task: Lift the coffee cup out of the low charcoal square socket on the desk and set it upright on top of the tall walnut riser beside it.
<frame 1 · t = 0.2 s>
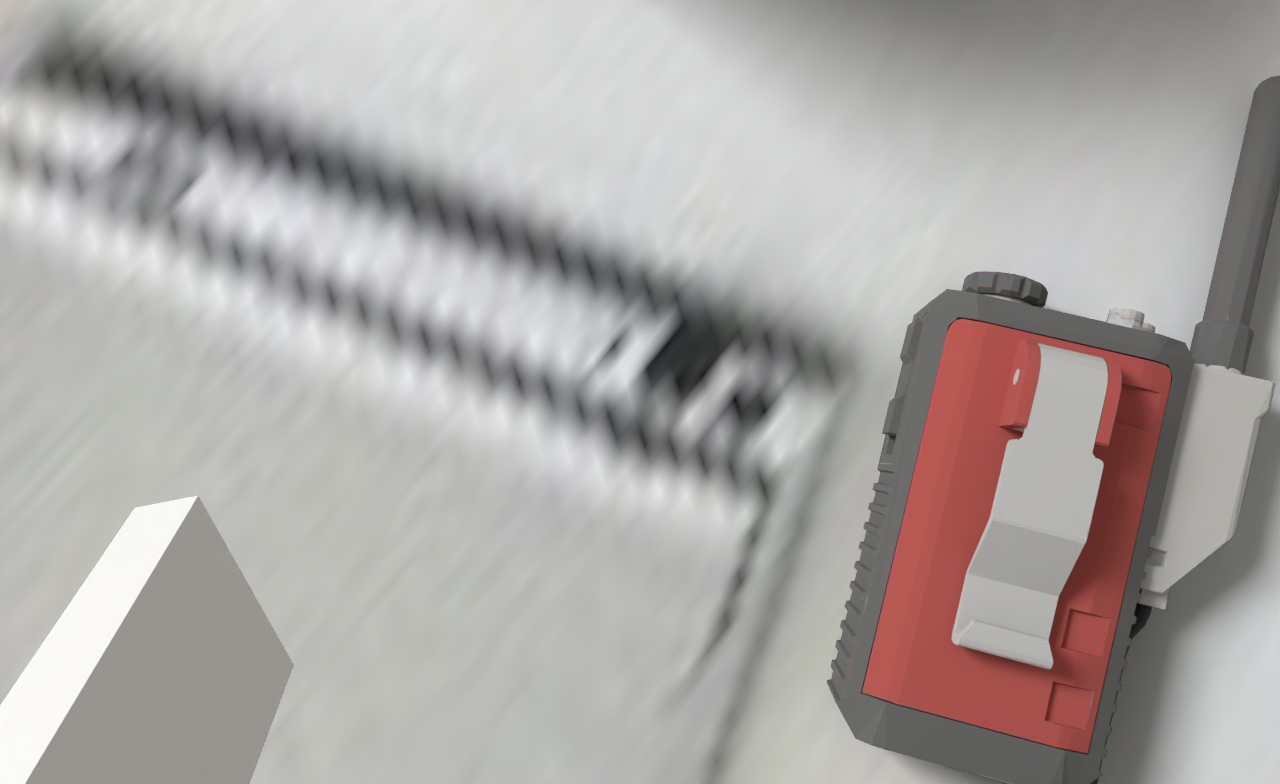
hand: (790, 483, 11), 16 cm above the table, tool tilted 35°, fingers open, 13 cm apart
walkie-talkie: (1045, 424, 27), on the table
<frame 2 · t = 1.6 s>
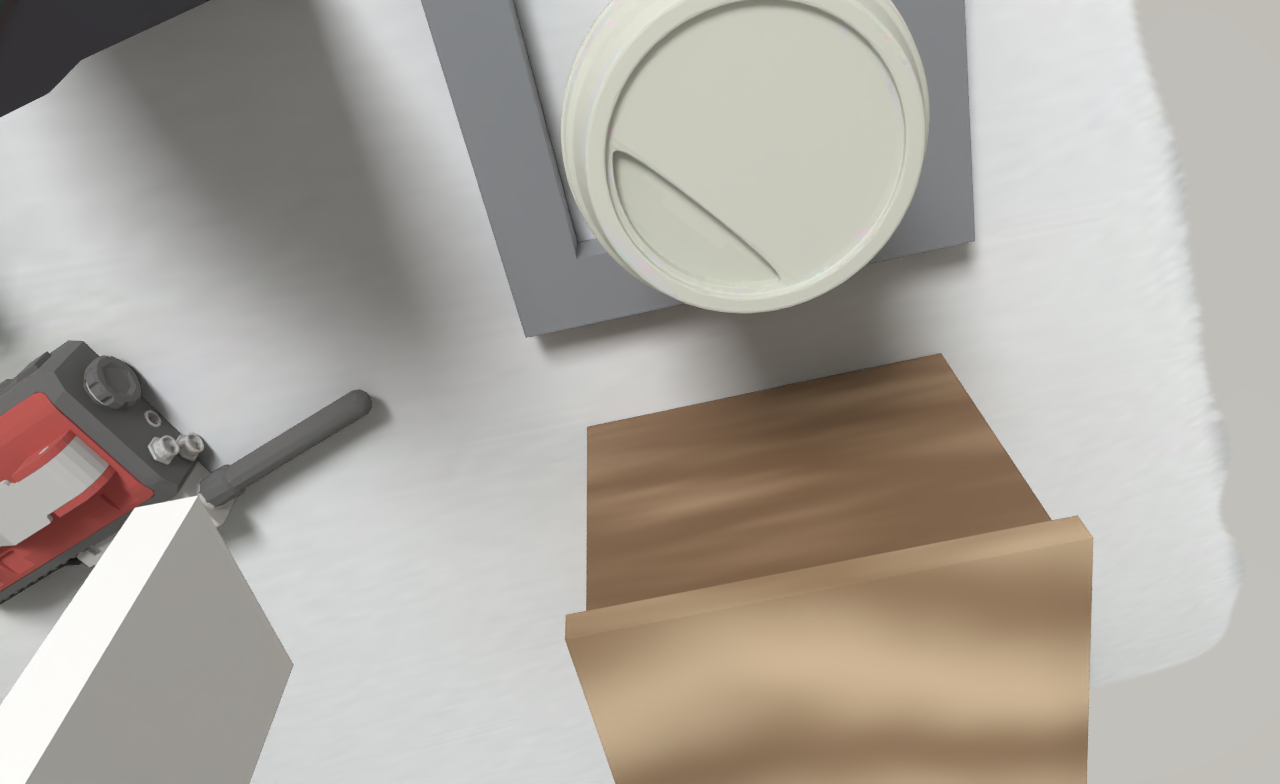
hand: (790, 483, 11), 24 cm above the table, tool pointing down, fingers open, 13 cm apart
coffee cup: (700, 48, 32), resting in socket
socket: (701, 50, 32), on the table
riser: (786, 528, 42), on the table
walkie-talkie: (123, 437, 39), on the table
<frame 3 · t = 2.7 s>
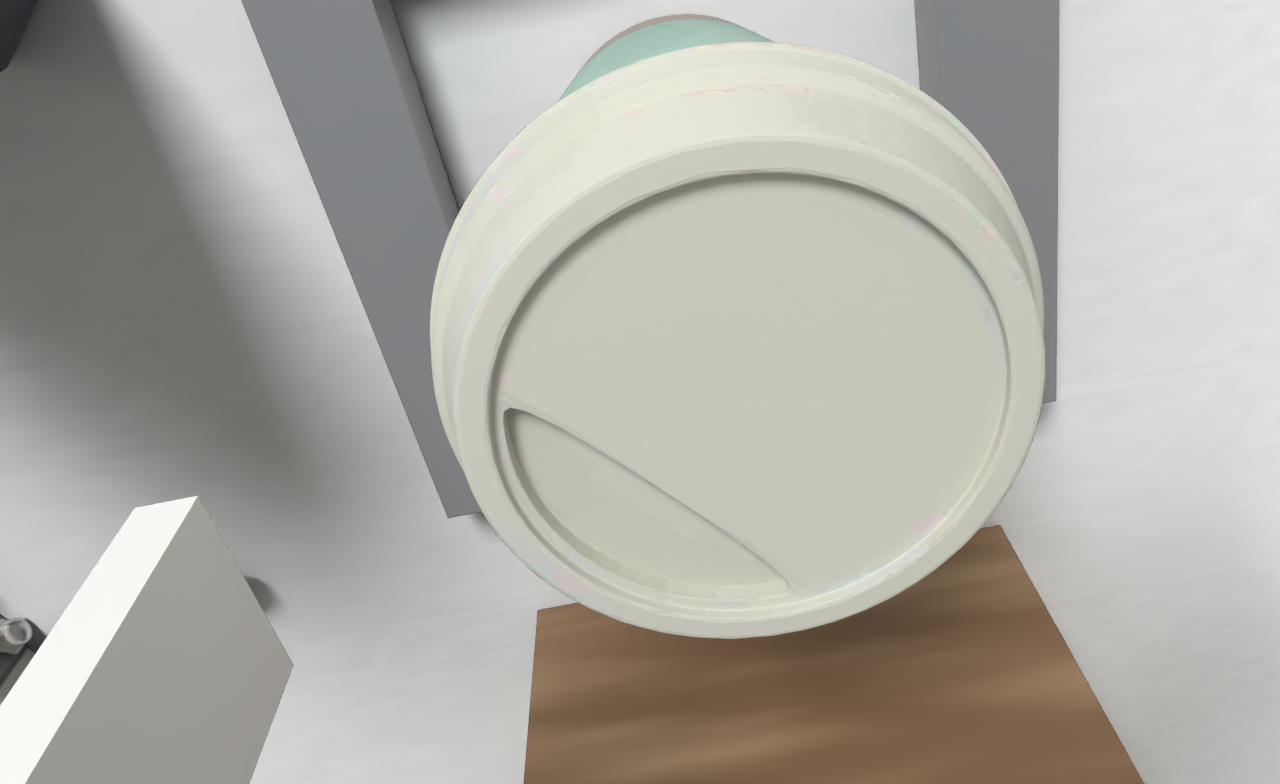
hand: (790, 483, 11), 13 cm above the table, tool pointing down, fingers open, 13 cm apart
coffee cup: (682, 144, 23), resting in socket
socket: (682, 146, 23), on the table
riser: (794, 724, 33), on the table
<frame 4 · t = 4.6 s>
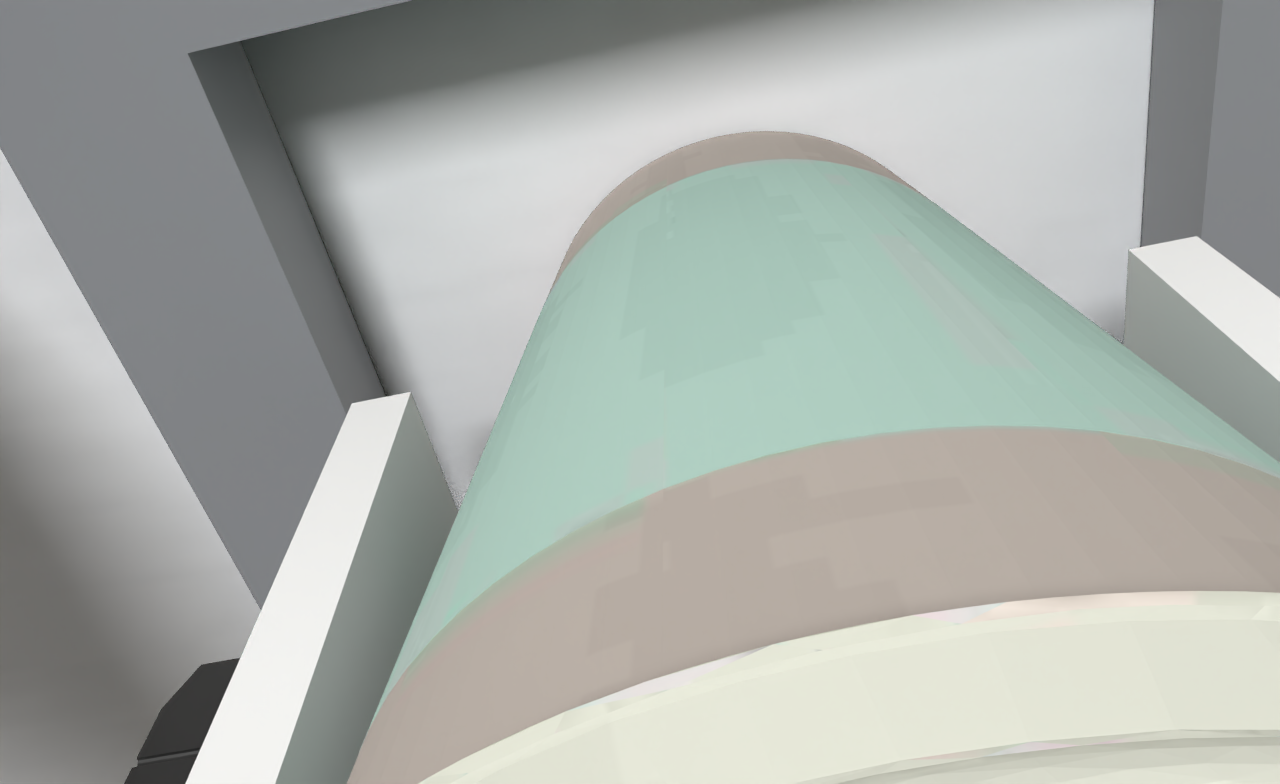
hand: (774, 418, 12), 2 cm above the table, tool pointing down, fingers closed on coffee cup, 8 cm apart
coffee cup: (749, 323, 14), resting in socket, touching gripper
socket: (751, 331, 14), on the table
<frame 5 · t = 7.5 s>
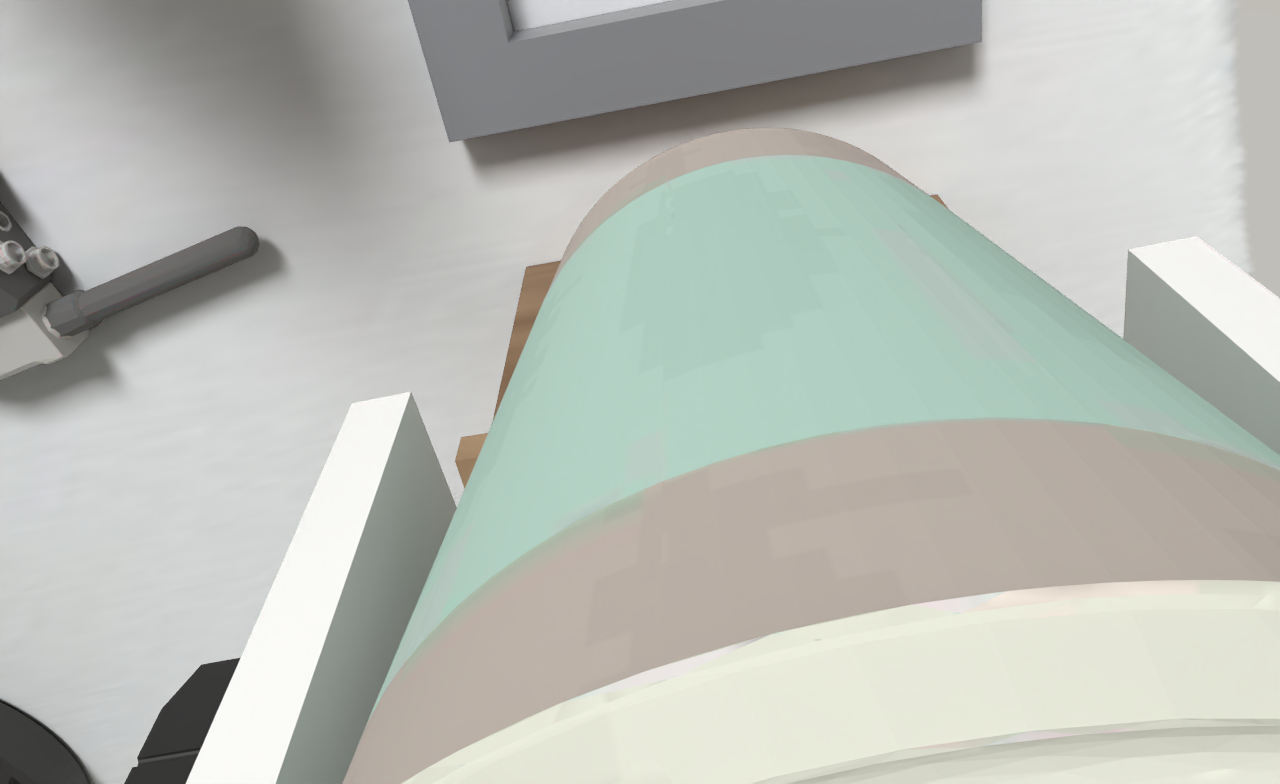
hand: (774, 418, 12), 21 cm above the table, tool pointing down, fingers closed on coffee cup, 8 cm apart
coffee cup: (749, 320, 14), point 18 cm above the table, touching gripper
riser: (753, 403, 37), on the table
when the fingers open (16 cm above the table, at t = 10.1 s): coffee cup drops 1 cm, resting on riser.
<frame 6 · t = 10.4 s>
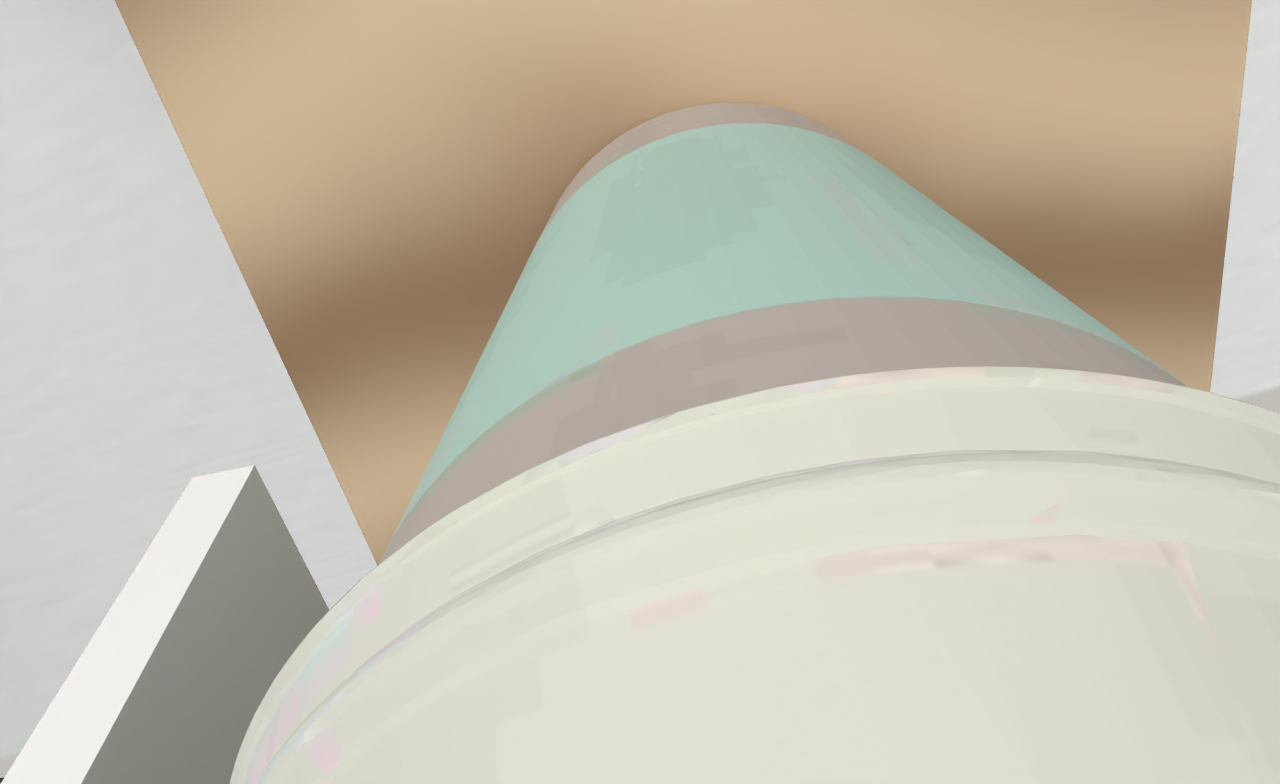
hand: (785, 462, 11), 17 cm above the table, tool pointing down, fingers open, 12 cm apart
coffee cup: (720, 282, 16), point 12 cm above the table, touching riser
riser: (690, 92, 26), on the table
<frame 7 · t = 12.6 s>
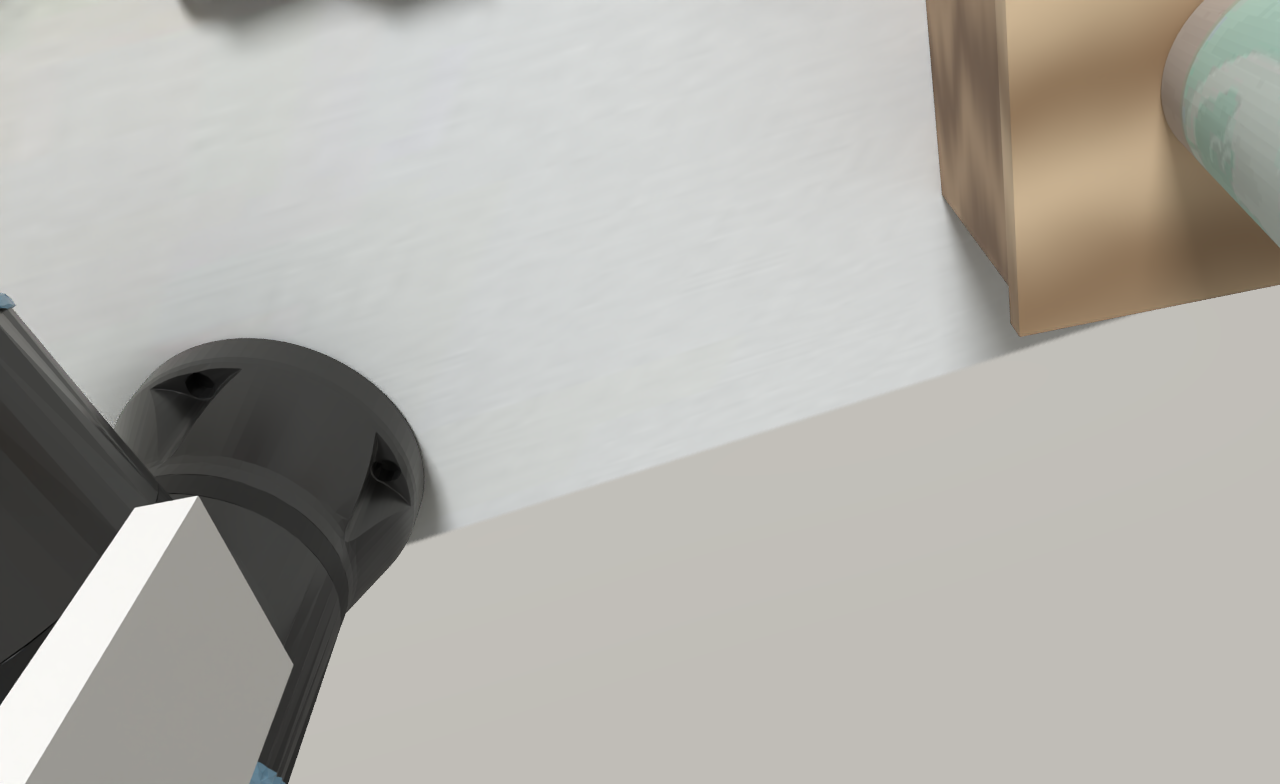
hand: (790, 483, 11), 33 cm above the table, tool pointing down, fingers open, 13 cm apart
coffee cup: (1259, 62, 29), point 12 cm above the table, touching riser
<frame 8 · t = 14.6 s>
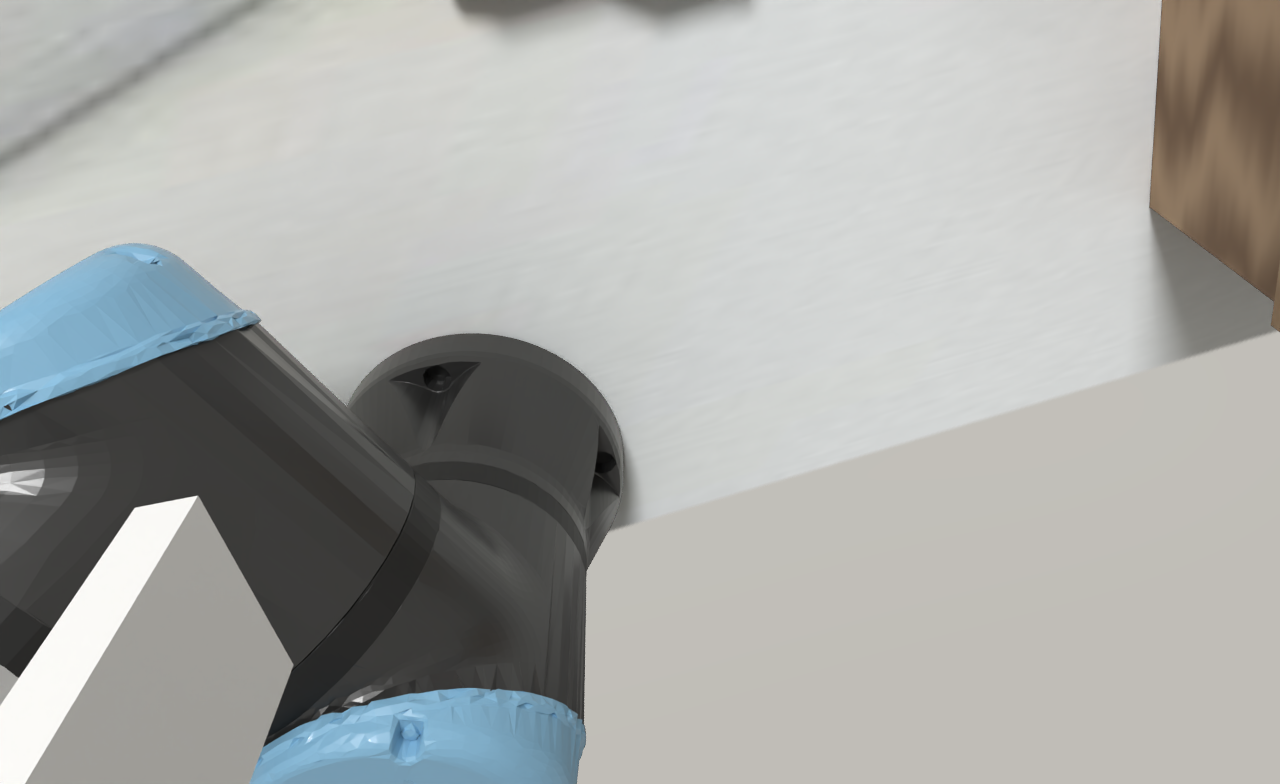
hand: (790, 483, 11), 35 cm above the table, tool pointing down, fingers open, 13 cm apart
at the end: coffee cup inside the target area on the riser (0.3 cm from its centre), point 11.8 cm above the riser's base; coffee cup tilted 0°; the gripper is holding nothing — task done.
